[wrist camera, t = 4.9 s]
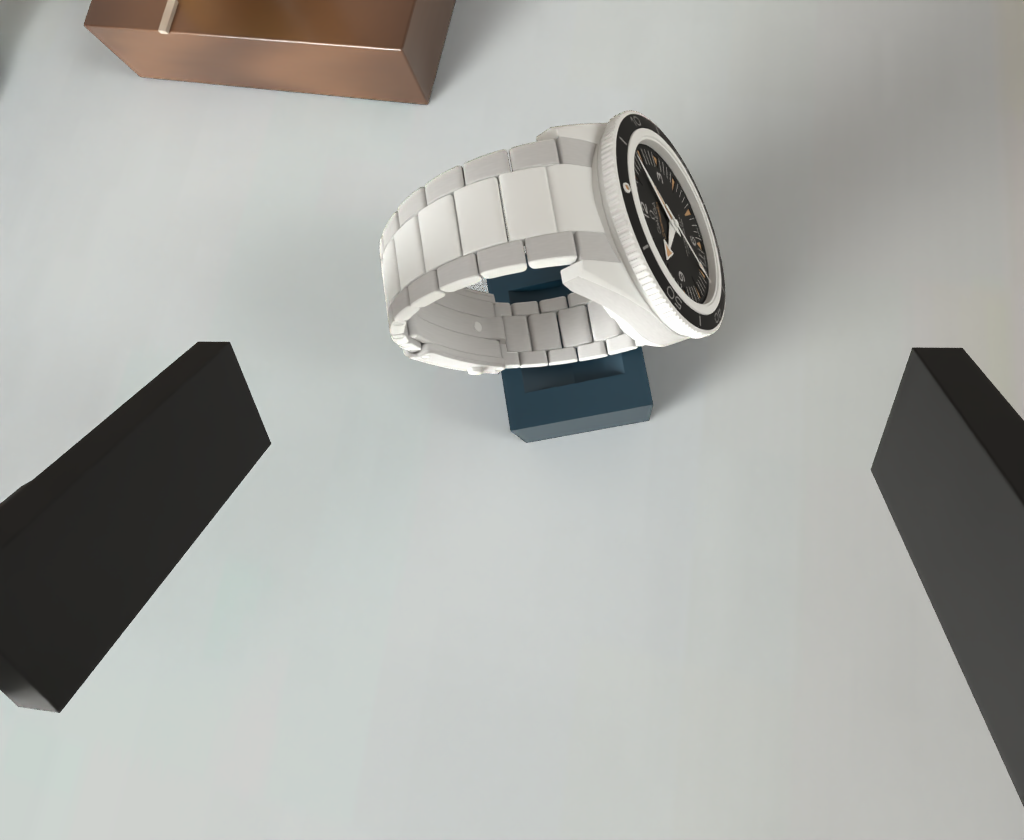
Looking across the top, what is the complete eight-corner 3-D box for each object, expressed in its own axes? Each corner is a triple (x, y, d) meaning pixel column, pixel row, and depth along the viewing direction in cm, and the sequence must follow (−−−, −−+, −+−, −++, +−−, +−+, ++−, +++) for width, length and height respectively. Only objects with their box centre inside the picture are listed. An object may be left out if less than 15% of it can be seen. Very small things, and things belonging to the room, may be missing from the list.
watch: (707, 409, 21) (796, 296, 10) (478, 451, 22) (337, 390, 11) (673, 257, 22) (721, 3, 11) (457, 305, 23) (308, 119, 12)
